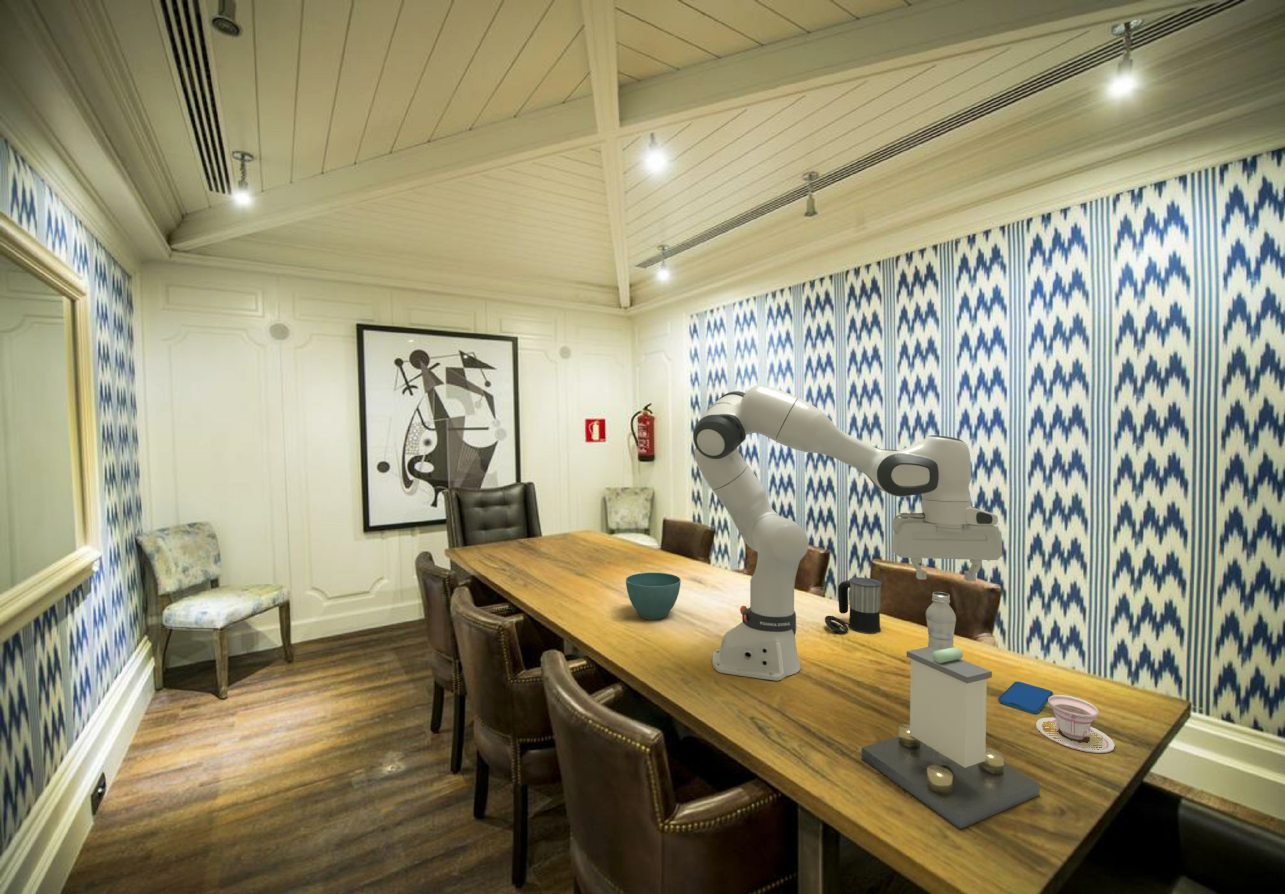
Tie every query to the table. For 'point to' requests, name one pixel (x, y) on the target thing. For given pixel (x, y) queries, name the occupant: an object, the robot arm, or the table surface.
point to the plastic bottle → (940, 622)
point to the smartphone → (1025, 697)
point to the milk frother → (858, 606)
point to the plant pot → (653, 593)
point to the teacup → (1075, 724)
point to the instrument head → (948, 704)
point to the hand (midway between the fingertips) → (945, 579)
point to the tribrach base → (965, 782)
